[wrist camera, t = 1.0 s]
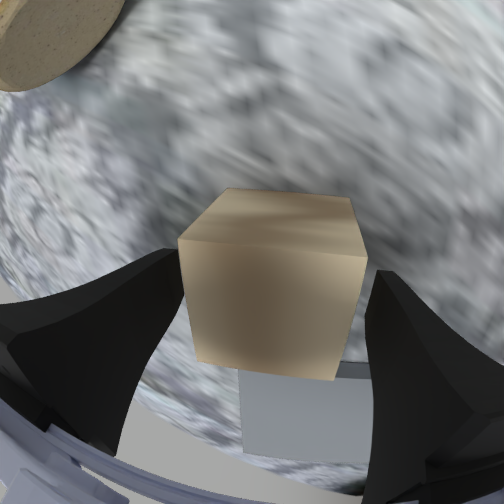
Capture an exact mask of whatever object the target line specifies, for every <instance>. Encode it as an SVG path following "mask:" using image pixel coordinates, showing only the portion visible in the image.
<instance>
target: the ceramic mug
mask: <svg viewBox="0 0 504 504" xmlns="http://www.w3.org/2000/svg"><path fill="white" fill-rule="evenodd" d="M124 2H125V0H0V90H2V91H6V92H20V91H26V90H30V89H33V88H36V87H39V86H41V85H43V84H45V83H47V82H49V81H51V80H53V79H55V78H56V77H58V76H60V75H62V74H63V73H65V72H66V71H68V70H69V69H70V68H72V67H73V66H74V65H76V64H77V63H78V62H79V61H80V60H82V59H83V58H84V57H85V56H86V55H87V54H89V53H90V52H91V50H92V49H93V48H94V47H95V46H96V45H97V44H98V43H99V42H100V41H101V40H102V38H103V37H104V36H105V35H106V34H107V32H108V31H109V29H110V28H111V27H112V25H113V24H114V22H115V20H116V19H117V17H118V15H119V13H120V11H121V9H122V7H123V5H124Z"/></svg>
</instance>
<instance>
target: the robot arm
mask: <svg viewBox="0 0 504 504" xmlns="http://www.w3.org/2000/svg"><path fill="white" fill-rule="evenodd" d="M183 296H184V288H183V282H182V275H181V268H180V261H179V254H178V250H176V249H167V248H163V249H160V250H157V251H155V252H152V253H150V254H148V255H146V256H144V257H142V258H140V259H138V260H136V261H134V262H132V263H130V264H128V265H126V266H124V267H122V268H120V269H117V270H115V271H113V272H111V273H109V274H107V275H104V276H102V277H100V278H98V279H96V280H94V281H91V282H89V283H86V284H84V285H81V286H78V287H76V288H73V289H70V290H67V291H64V292H60V293H57V294H53V295H50V296H47V297H43V298H38V299H34V300H29V301H23V302H17V303H9V304H0V481H1V482H2V484H3V485H4V486H5V487H6V488H7V491H6V493H5V495H4V496H3V498H2V500H1V502H0V504H129V499H128V498H126V497H125V496H123V495H121V494H119V493H117V492H116V491H114V490H112V489H111V488H109V487H108V486H106V485H105V484H104V483H102V482H101V481H99V480H98V479H97V478H95V477H93V476H92V475H90V474H88V473H86V472H85V471H83V470H82V468H81V466H80V465H82V466H84V467H86V468H88V469H89V470H91V471H93V472H95V473H97V474H98V475H100V476H103V477H104V478H106V479H108V480H110V481H112V482H114V483H117V484H118V485H121V486H123V487H125V488H127V489H129V490H132V491H134V492H136V493H139V494H141V495H143V496H146V497H149V498H151V499H154V500H156V501H159V502H162V503H165V504H274V503H266V502H259V501H253V500H247V499H242V498H236V497H232V496H227V495H222V494H217V493H213V492H210V491H206V490H202V489H198V488H195V487H191V486H188V485H184V484H181V483H178V482H175V481H171V480H169V479H166V478H163V477H160V476H157V475H154V474H152V473H149V472H147V471H144V470H142V469H139V468H136V467H134V466H132V465H129V464H127V463H125V462H123V461H120V460H118V459H116V458H114V456H116V453H117V448H118V444H119V440H120V436H121V432H122V428H123V425H124V421H125V418H126V415H127V412H128V409H129V406H130V403H131V401H132V398H133V395H134V393H135V390H136V387H137V385H138V382H139V380H140V378H141V375H142V373H143V371H144V369H145V366H146V364H147V363H148V361H149V359H150V357H151V355H152V354H153V352H154V350H155V349H156V347H157V345H158V344H159V342H160V340H161V339H162V337H163V335H164V334H165V332H166V331H167V329H168V327H169V326H170V324H171V322H172V321H173V319H174V317H175V315H176V313H177V311H178V309H179V306H180V304H181V301H182V299H183ZM365 340H366V346H367V353H368V360H369V367H370V374H371V382H372V390H373V429H372V443H371V453H370V461H369V468H368V475H367V480H366V485H365V490H364V495H363V499H362V503H361V504H504V366H503V365H501V364H499V363H497V362H496V361H494V360H493V359H491V358H490V357H488V356H487V355H485V354H484V353H482V352H481V351H480V350H478V349H477V348H475V347H474V346H472V345H471V344H470V343H469V342H467V341H466V340H465V339H464V338H462V337H461V336H460V335H459V334H457V333H456V332H455V331H454V330H453V329H451V328H450V327H449V326H448V325H447V324H446V323H445V322H444V321H443V320H442V319H441V318H439V317H438V316H437V315H436V314H435V313H434V312H433V311H432V310H431V309H430V308H429V307H428V306H427V305H426V304H425V303H424V302H423V301H422V300H421V299H420V298H419V297H418V296H417V295H416V293H415V292H414V291H413V290H412V289H411V288H410V287H409V286H408V285H407V284H406V283H405V282H404V281H403V280H402V279H401V278H400V277H399V276H398V275H397V274H396V273H394V272H393V271H384V270H377V272H376V276H375V280H374V284H373V288H372V291H371V295H370V299H369V302H368V306H367V309H366V313H365Z"/></svg>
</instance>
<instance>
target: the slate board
mask: <svg viewBox="0 0 504 504" xmlns="http://www.w3.org/2000/svg"><path fill="white" fill-rule="evenodd" d="M238 380H239V396H240V413H241V428H242V442H243V453H247V454H252V455H258V456H265V457H271V458H279V459H287V460H297V461H308V462H323V463H369V461H370V453H371V443H372V429H373V390H372V382H371V374H370V367H369V364H366V363H349V362H340V364H339V367H338V370H337V372H336V375H335V378H334V381H330V380H318V379H307V378H298V377H289V376H281V375H273V374H266V373H259V372H253V371H247V370H241V369H238Z"/></svg>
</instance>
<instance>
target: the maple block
mask: <svg viewBox="0 0 504 504" xmlns="http://www.w3.org/2000/svg"><path fill="white" fill-rule="evenodd" d="M177 240H178V248H179V256H180V263H181V270H182V277H183V284H184V290H185V297H186V303H187V309H188V315H189V320H190V326H191V331H192V337H193V342H194V347H195V352H196V357H197V361H199V362H204V363H209V364H214V365H219V366H224V367H229V368H235V369H241V370H247V371H253V372H259V373H266V374H273V375H281V376H289V377H298V378H307V379H318V380H330V381H334V378H335V375H336V372H337V370H338V367H339V364H340V360H341V357H342V354H343V351H344V348H345V345H346V341H347V338H348V335H349V331H350V328H351V324H352V321H353V317H354V314H355V310H356V306H357V302H358V298H359V295H360V291H361V286H362V282H363V278H364V274H365V269H366V265H367V260H368V256H367V252H366V249H365V245H364V242H363V239H362V235H361V232H360V229H359V226H358V223H357V220H356V217H355V214H354V211H353V208H352V205H351V202H350V199H349V198H347V197H337V196H328V195H318V194H307V193H296V192H283V191H269V190H254V189H236V188H227V189H226V190H225V191H224V192H223V193H222V194H221V195H220V196H219V197H218V198H217V199H216V200H215V201H214V202H213V203H212V204H211V205H210V206H209V207H208V208H207V209H206V210H205V211H204V212H203V213H202V214H201V215H200V216H199V217H198V218H197V219H196V220H195V221H194V222H193V223H192V224H191V225H190V226H189V227H188V228H187V229H186V230H185V231H184V232H183V233H182V235H181V236H180V237H179V238H178V239H177Z"/></svg>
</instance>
